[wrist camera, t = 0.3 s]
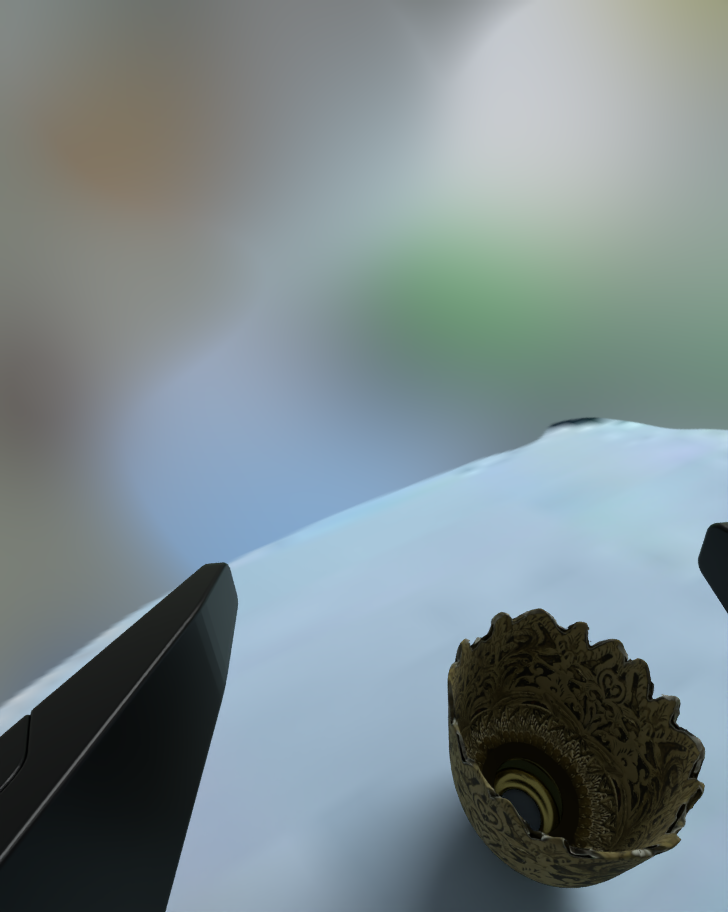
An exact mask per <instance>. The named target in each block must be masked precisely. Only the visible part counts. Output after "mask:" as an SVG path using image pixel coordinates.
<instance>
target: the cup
mask: <svg viewBox="0 0 728 912" xmlns="http://www.w3.org/2000/svg"><path fill="white" fill-rule="evenodd" d="M564 629H565V628H563V627H561V626H559V625H558V624H557V622H556V620H555V619H554V617H553V616H551V615H550V614H549V613H548V612H546V611H545V610H543V609H540V608H539V609H533V610H530V611H527V612H525V613H523V614H521V615H519V616H518V617H516V618H514V619H512V618H511V617H510V615H509V614H507V613H504V612H500V613H498V614H497V615H495V616H494V617H493V619H492V621H491V627H490V630H489V632H488V634H487V635H485V636H484V637H482V638H479V637H478V638H476V640H475V642H474V643H473V644H472V645H471V646H470V643H469V641H470V640H468V639H464V640H463V641H462V642H461V643H460V645H459V647H458V650H457V654H456V659H455V662H454V663H453V664H452V665H451V667H450V670H449V673H448V727H449V754H450V763H451V770H452V775H453V780H454V784H455V788H456V791H457V794H458V797H459V799H460V802H461V805H462V807H463V809H464V812H465V814H466V816H467V817H468V819H469V821H470V823H471V825H472V826H473V828H474V829H475V831H476V832H477V834H478V835H479V837H480V838H481V839H482V840H483V842H484V843H485V844H486V845H487V846H488V847H489V848H490V850H491V851H492V852H493V853H494V854H495V855H496V856H497V857H499V858H500V859H501V860H502V861H503V862H504V863H506V864H507V865H508V866H510V867H511V868H512V869H514V870H515V871H517V872H519V873H520V874H522V875H524V876H525V877H527V878H530V879H532V880H534V881H536V882H539V883H543V884H546V885H549V886H555V887H563V888H580V887H587V886H592V885H596V884H599V883H602V882H605V881H608V880H610V879H612V878H614V877H616V876H618V875H620V874H622V873H624V872H626V871H628V870H630V869H632V868H633V867H635V866H637V865H639V864H641V863H643V862H644V861H646V860H648V859H650V858H651V857H653V856H655V855H657V854H660V853H663V852H666V851H668V850H670V849H672V848H674V847H675V846H676V845H677V844H678V843H679V842H680V841H681V839H680V838H679V837H678V836H677V833H678V832H679V831H680V830H681V829H682V827H684V825H685V822H686V821H685V817H686V814H687V813H688V812H689V810H690V809H692V808H693V806H694V804H695V803H696V802H697V801H698V799H700V798H701V796H702V794H703V792H704V787H705V786H704V784H703V783H702V782H700V781H698V780H697V777H698V774H699V772H700V769H701V766H702V763H703V760H704V758H705V748H704V746H703V744H702V742H701V740H700V739H698V738H697V737H696V736H694V735H693V734H692V733H690V732H688V731H687V730H686V729H684V728H682V727H679V726H678V725H677V723H676V721H677V717H678V716H679V714H680V711H679V708H680V700H679V698H678V697H676V696H668V695H663V694H661V695H663V696H662V697H659V698H656V699H653V698H652V696H653V691H654V684H653V683H652V682H651V677H650V671H649V668H648V665H647V663H646V662H645V661H644V660H642V659H639V658H637V659H635V660H631V659H629V660H628V661H627V659H628V654H627V653H626V651H625V649H624V646H623V644H622V643H621V642H620V641H619V640H617V639H608V640H604V641H600V642H597V643H595V644H594V645H593V646H590V645H589V640H588V630H589V627H588V625H587V623H585V622H576V623H574V624H572V625H570V626H569V627H568V629H566V630H564ZM590 642H591V641H590ZM510 789H519V790H522V791H524V792H525V793H527V794H528V795H529V796H530V797H531V798H532V799H533V800H534V801H535V803H536V804H537V806H538V808H539V811H540V815H541V825H540V828H539V830H538V831H534V830H532V829H531V827H530V825H529V824H528V823H527V822H526V821H525V820H524V819H523V818H522V817H521V816H520V815H519V814H518V812H517V810H516V809H515V807H514V806H513V805H512V803H511V802H510V801H509V800H507V799H505V798H501V797H502V795H503V794H504V793H505V792H506V791H507V790H510Z"/></svg>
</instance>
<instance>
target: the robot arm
mask: <svg viewBox="0 0 728 912" xmlns="http://www.w3.org/2000/svg"><path fill="white" fill-rule="evenodd" d="M698 565H699V568H700V571H701V573H702V574H703V576H704V577H705V579H706V581H707V582H708V584H709V585H710V587H711V588H712V590H713V591H714V593H715V594H716V596H717V598H718V599H719V601H720V602H721V604H722V605H723V607H724V608H725V610H726V611H727V613H728V522H723V523H715V524H712V525H711V526H710V527H709V528H708V529H707V532H706V535H705V538H704V541H703V544H702V548H701V551H700V554H699V557H698ZM237 609H238V598H237V593H236V589H235V585H234V581H233V578H232V574H231V570H230V567H229V566H228V564H226V563H211V564H205V565H204V566H202V567H201V568H200V569H198V570H197V571H196V572H195V573H194V574H192V575H191V576H190V577H189V578H188V579H187V580H185V581H184V582H183V583H182V584H181V585H179V586H178V587H177V588H176V589H175V590H174V591H172V592H171V593H170V594H169V595H168V596H166V597H165V598H164V599H163V600H162V601H161V602H159V603H158V604H157V605H156V606H155V607H153V608H152V609H151V610H150V611H149V612H147V613H146V614H145V615H144V616H143V617H142V618H140V619H139V620H138V621H137V622H136V623H134V624H133V625H132V626H131V627H130V628H129V629H127V630H126V631H125V632H124V633H123V634H121V635H120V636H119V637H118V638H117V639H116V640H114V641H113V642H112V643H111V644H110V645H108V646H107V647H106V648H105V649H104V650H103V651H101V652H100V653H99V654H98V655H97V656H95V657H94V658H93V659H92V660H91V661H89V662H88V663H87V664H86V665H85V666H84V667H82V668H81V669H80V670H79V671H78V672H76V673H75V674H74V675H73V676H72V677H71V678H69V679H68V680H67V681H66V682H65V683H63V684H62V685H61V686H60V687H59V688H58V689H56V690H55V691H54V692H53V693H52V694H50V695H49V696H48V697H47V698H46V699H44V700H43V701H42V702H41V703H40V704H39V705H37V706H36V707H35V708H34V709H33V710H32V711H31V715H26V716H24V717H23V718H22V719H21V720H19V721H18V722H17V723H16V724H15V725H13V726H12V727H11V728H10V729H9V730H8V731H6V732H5V733H4V734H3V735H2V736H0V912H165V911H166V908H167V904H168V900H169V896H170V893H171V889H172V885H173V882H174V878H175V874H176V870H177V867H178V863H179V859H180V855H181V852H182V848H183V844H184V840H185V837H186V833H187V829H188V826H189V822H190V818H191V814H192V811H193V807H194V803H195V799H196V796H197V792H198V788H199V785H200V781H201V777H202V773H203V770H204V766H205V762H206V758H207V755H208V751H209V747H210V743H211V740H212V736H213V732H214V729H215V725H216V721H217V717H218V714H219V710H220V706H221V702H222V698H223V694H224V690H225V686H226V680H227V674H228V668H229V661H230V655H231V648H232V642H233V635H234V629H235V622H236V616H237Z"/></svg>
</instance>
